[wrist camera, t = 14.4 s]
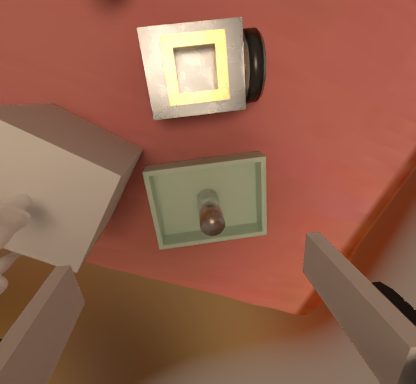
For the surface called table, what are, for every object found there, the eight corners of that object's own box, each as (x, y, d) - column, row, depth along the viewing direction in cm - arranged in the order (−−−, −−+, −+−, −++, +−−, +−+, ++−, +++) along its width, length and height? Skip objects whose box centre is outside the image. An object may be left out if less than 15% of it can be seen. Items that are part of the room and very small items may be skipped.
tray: (161, 237, 46) (159, 249, 42) (146, 165, 40) (142, 172, 36) (260, 223, 46) (266, 234, 43) (258, 151, 41) (265, 156, 37)
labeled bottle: (198, 208, 43) (201, 237, 34) (196, 190, 42) (198, 215, 33) (217, 205, 43) (226, 234, 34) (216, 187, 42) (224, 212, 33)
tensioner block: (160, 115, 37) (151, 122, 28) (147, 43, 34) (131, 20, 24) (252, 105, 38) (275, 107, 28) (250, 32, 34) (275, 6, 25)
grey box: (143, 149, 39) (82, 222, 16) (103, 233, 44) (14, 381, 21) (51, 102, 35) (-202, 111, 12) (19, 200, 40) (-201, 337, 17)
